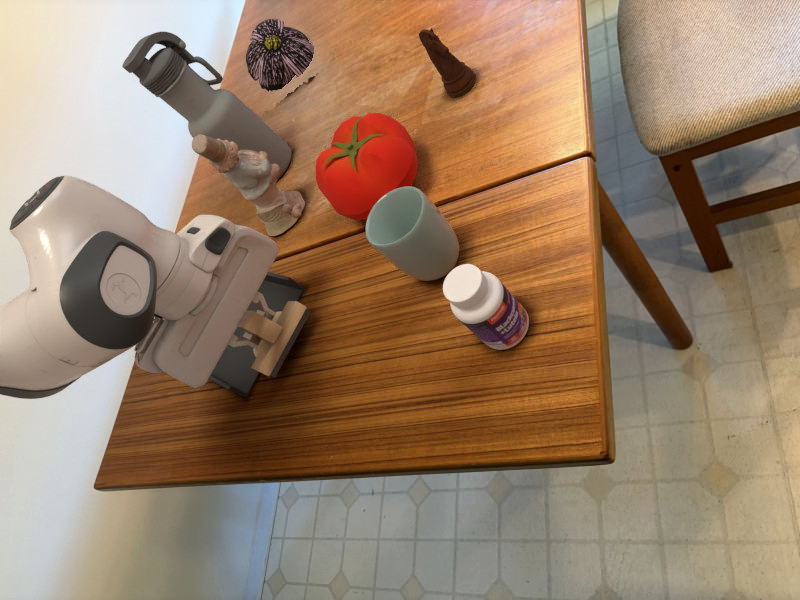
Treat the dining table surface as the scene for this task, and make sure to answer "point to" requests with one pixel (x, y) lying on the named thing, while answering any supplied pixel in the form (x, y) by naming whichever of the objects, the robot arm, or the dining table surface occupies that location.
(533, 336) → the dining table surface
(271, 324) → the brush
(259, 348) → the crumb
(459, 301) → the pill bottle
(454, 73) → the chess piece
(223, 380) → the dustpan
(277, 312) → the crumb
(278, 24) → the decorative flower
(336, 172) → the tomato
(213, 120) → the water bottle
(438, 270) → the cup
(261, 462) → the dining table surface
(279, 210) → the figurine
